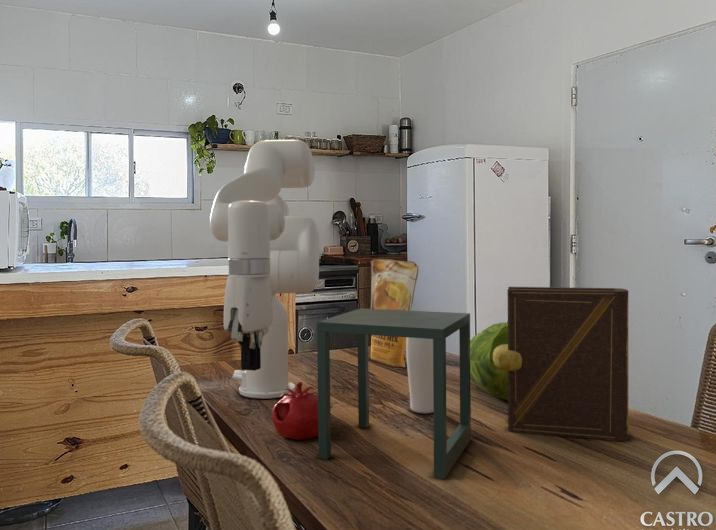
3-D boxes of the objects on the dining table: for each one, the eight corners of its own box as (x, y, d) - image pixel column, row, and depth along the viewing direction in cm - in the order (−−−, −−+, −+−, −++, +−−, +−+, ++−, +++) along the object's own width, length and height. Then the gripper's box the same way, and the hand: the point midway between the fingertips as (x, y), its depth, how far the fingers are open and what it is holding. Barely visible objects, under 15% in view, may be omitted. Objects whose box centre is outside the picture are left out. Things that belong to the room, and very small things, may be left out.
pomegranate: (327, 424, 111) (326, 374, 110) (329, 442, 101) (328, 388, 100) (273, 425, 110) (273, 375, 110) (270, 444, 100) (269, 389, 100)
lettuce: (480, 410, 139) (514, 353, 144) (545, 421, 117) (582, 354, 122) (427, 366, 137) (463, 310, 142) (483, 370, 115) (523, 303, 120)
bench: (318, 458, 94) (316, 321, 93) (361, 424, 110) (360, 308, 109) (444, 479, 85) (443, 329, 85) (470, 439, 101) (470, 313, 101)
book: (623, 428, 106) (623, 287, 105) (631, 444, 98) (631, 292, 97) (494, 417, 113) (493, 285, 113) (492, 431, 105) (491, 290, 105)
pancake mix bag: (381, 354, 173) (380, 258, 173) (421, 367, 157) (420, 260, 156) (361, 357, 170) (360, 259, 169) (400, 370, 153) (399, 261, 153)
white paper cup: (441, 416, 114) (440, 338, 114) (405, 414, 116) (404, 337, 115) (441, 406, 121) (440, 332, 120) (407, 404, 122) (406, 331, 122)
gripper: (254, 267, 117) (255, 360, 117) (207, 270, 104) (209, 376, 104) (287, 267, 114) (288, 363, 114) (244, 270, 100) (245, 379, 101)
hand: (250, 369), depth 109 cm, fingers closed
